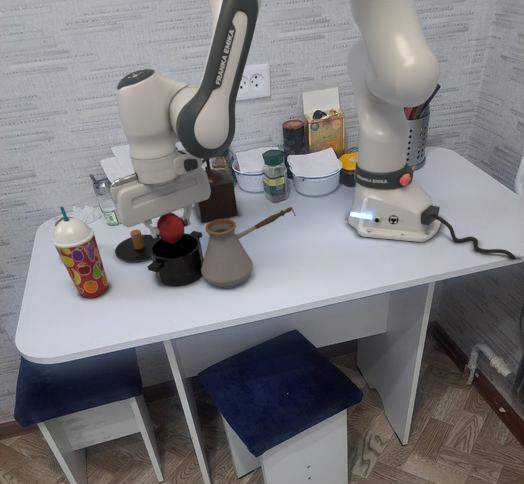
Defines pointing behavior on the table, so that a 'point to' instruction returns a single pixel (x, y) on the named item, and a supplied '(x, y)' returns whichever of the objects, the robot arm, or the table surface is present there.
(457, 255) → the table surface
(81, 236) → the smoothie
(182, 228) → the red rounded piece
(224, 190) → the coffee grinder
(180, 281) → the pot
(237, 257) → the coffee pot
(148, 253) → the pot lid
